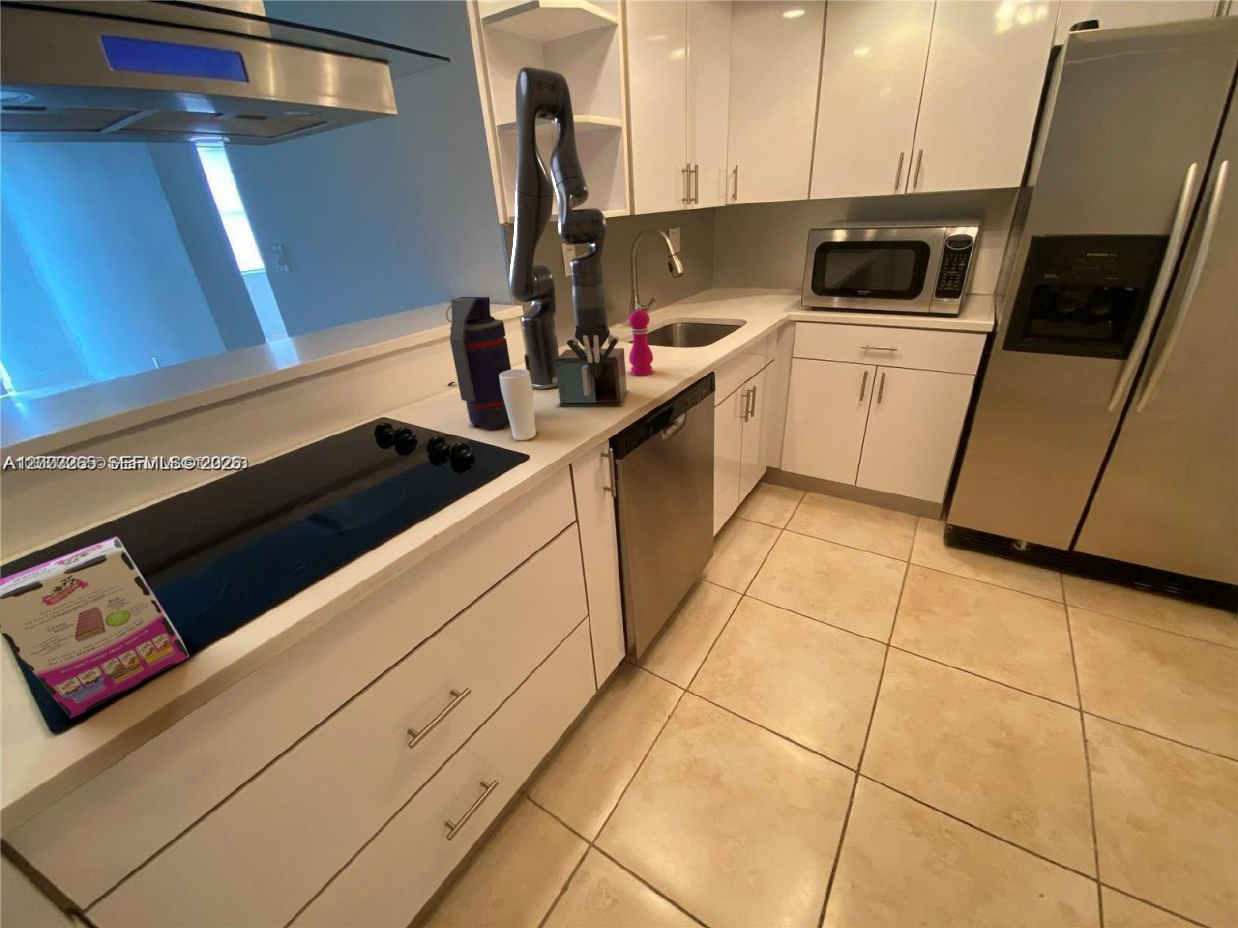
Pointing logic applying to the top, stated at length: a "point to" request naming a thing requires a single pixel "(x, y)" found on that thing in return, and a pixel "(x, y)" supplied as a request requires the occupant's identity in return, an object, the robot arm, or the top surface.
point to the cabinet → (598, 378)
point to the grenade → (479, 359)
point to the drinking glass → (518, 402)
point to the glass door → (578, 383)
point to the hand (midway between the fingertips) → (596, 376)
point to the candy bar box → (88, 625)
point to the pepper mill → (640, 343)
